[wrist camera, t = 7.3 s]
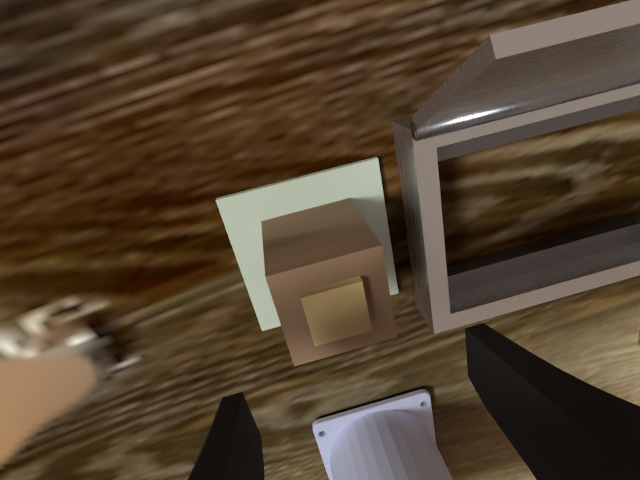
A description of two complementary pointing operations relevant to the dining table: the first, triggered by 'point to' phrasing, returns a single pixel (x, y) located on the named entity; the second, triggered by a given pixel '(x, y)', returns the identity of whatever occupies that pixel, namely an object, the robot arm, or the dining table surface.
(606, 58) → the propped lid
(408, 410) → the robot arm
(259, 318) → the green rubber mat
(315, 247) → the walnut block
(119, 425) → the dining table surface
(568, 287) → the aluminium case
